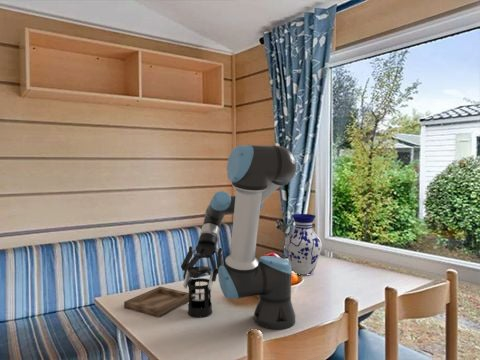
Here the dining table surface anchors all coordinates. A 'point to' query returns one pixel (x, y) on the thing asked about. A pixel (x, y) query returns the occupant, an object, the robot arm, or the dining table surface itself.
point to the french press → (199, 298)
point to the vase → (303, 245)
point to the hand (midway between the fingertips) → (197, 287)
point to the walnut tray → (157, 301)
